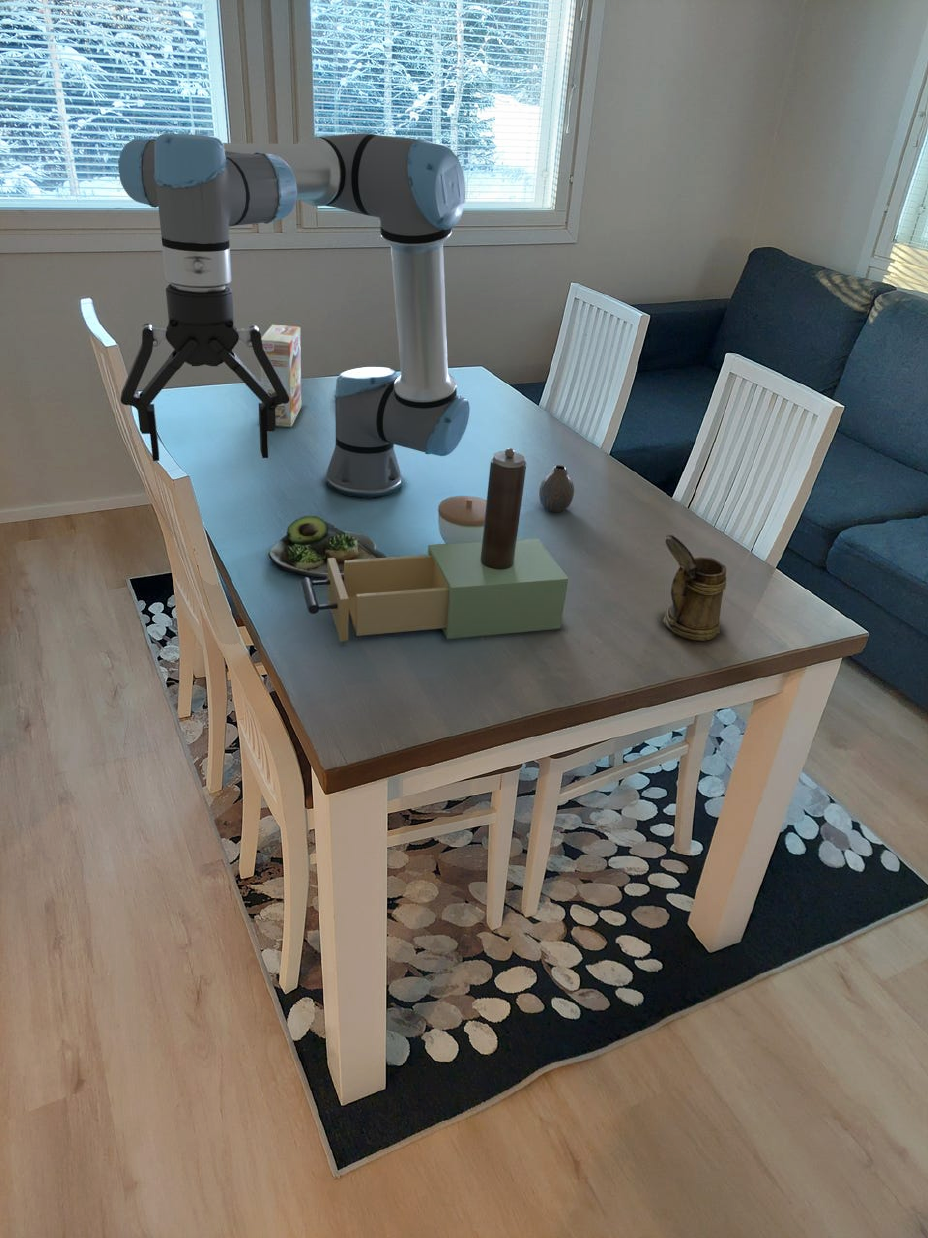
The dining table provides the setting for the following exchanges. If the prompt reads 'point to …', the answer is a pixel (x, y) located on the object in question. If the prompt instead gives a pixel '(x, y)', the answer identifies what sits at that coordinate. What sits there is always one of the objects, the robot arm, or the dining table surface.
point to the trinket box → (462, 519)
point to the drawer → (383, 595)
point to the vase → (556, 490)
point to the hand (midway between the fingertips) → (211, 455)
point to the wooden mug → (695, 594)
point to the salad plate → (319, 547)
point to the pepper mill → (503, 509)
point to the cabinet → (500, 590)
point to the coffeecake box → (284, 369)
